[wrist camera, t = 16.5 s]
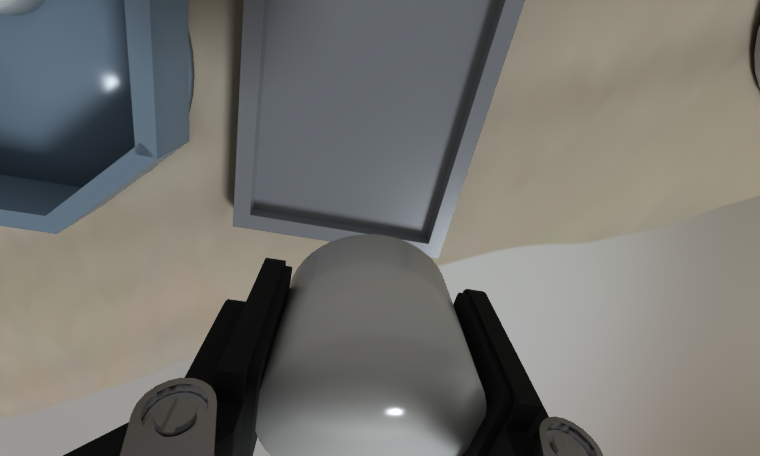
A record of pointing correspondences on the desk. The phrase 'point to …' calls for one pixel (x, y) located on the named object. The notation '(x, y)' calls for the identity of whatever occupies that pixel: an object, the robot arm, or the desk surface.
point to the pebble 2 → (369, 358)
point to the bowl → (88, 104)
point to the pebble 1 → (19, 6)
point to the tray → (363, 113)
